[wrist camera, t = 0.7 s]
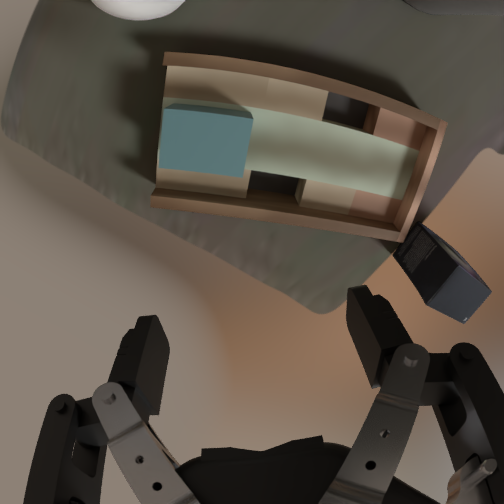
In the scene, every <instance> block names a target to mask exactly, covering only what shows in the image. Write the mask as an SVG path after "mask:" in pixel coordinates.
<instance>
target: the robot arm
mask: <svg viewBox="0 0 504 504" xmlns="http://www.w3.org/2000/svg"><path fill="white" fill-rule="evenodd" d="M346 321H347V327H348V330H349V332H350V335H351V337H352V340H353V342H354V344H355V347H356V349H357V352H358V354H359V357H360V360H361V362H362V364H363V367H364V369H365V372H366V375H367V377H368V380H369V383H370V385H371V388H372V389H373V388H377V387H381V389H380V391H379V393H378V394H377V396H376V398H375V400H374V403H373V405H372V407H371V409H370V411H369V413H368V416H367V418H366V420H365V422H364V424H363V427H362V428H361V431H360V432H359V435H358V436H357V439H356V440H355V442H354V444H353V446H352V448H349V447H347V446H344V445H340V444H336V443H329V442H323V437H322V435H321V436H316V437H310V438H305V439H299V440H292V441H290V442H287V443H285V444H282V445H279V446H276V447H274V448H271V449H268V450H265V451H252V450H245V449H238V448H232V447H227V448H208V449H207V448H205V449H202V453H201V456H200V457H196V458H194V459H191V460H189V461H187V462H186V463H184V464H182V465H181V466H180V465H179V463H178V462H177V461H176V460H175V458H174V457H173V456H172V455H171V453H170V452H169V451H168V449H167V448H166V447H165V445H164V444H163V443H162V441H161V440H160V438H159V437H158V435H157V434H156V432H155V431H154V429H153V428H152V427H151V425H150V424H149V422H148V421H149V416H150V415H159V411H160V404H161V399H162V393H163V387H164V381H165V376H166V370H167V365H168V359H169V353H170V347H169V342H168V339H167V337H166V335H165V332H164V330H163V328H162V325H161V323H160V321H159V318H158V317H157V316H156V315H150V316H140V317H139V318H138V319H137V322H136V325H135V328H134V329H129V331H128V332H127V333H126V334H125V336H124V337H123V338H122V341H121V344H120V349H119V350H118V352H117V356H116V358H115V361H114V364H113V367H112V370H111V373H110V376H109V379H108V382H107V383H105V384H103V385H101V386H99V387H98V388H97V389H96V390H95V392H94V394H93V396H92V397H90V398H86V399H82V400H79V401H75V400H74V398H73V397H72V396H70V395H68V394H61V395H58V396H56V397H55V398H54V399H53V400H52V401H51V402H50V404H49V406H48V409H47V412H46V415H45V418H44V421H43V425H42V428H41V431H40V435H39V438H38V442H37V446H36V449H35V453H34V457H33V460H32V465H31V469H30V473H29V477H28V482H27V487H26V492H25V498H24V503H23V504H100V495H101V486H102V478H103V470H104V463H105V456H106V450H107V445H108V446H109V449H110V451H111V453H112V455H113V457H114V459H115V460H116V462H117V464H118V466H119V468H120V470H121V471H122V473H123V475H124V477H125V478H126V480H127V482H128V483H129V485H130V487H131V488H132V490H133V492H134V493H135V495H136V497H137V498H138V499H139V501H140V503H141V504H440V503H438V502H437V501H435V500H434V499H432V498H430V497H428V496H426V495H425V494H423V493H421V492H420V491H418V490H416V489H414V488H413V487H411V486H409V485H408V484H406V483H404V482H403V481H401V480H400V479H398V478H396V477H395V476H394V473H395V471H396V469H397V466H398V464H399V462H400V459H401V457H402V454H403V452H404V449H405V447H406V444H407V441H408V439H409V436H410V433H411V430H412V427H413V425H414V422H415V418H416V416H417V412H418V409H419V406H430V405H432V407H433V410H434V412H435V415H436V418H437V421H438V423H439V426H440V428H441V431H442V434H443V437H444V440H445V443H446V446H447V448H448V451H449V454H450V457H451V461H452V464H453V467H454V470H455V473H454V474H453V475H452V477H451V478H450V480H449V482H448V487H447V490H448V499H447V502H446V504H504V393H503V391H502V389H501V388H500V386H499V384H498V382H497V380H496V378H495V377H494V375H493V373H492V371H491V370H490V368H489V366H488V364H487V362H486V361H485V359H484V358H483V356H482V354H481V353H480V351H479V349H478V348H476V347H475V346H474V345H472V344H470V343H458V344H456V345H454V346H453V347H452V349H451V351H450V353H428V351H427V350H426V349H425V348H424V347H422V346H420V345H418V344H414V343H413V341H412V340H411V338H410V336H409V334H408V333H407V331H406V329H405V328H404V326H403V324H402V323H401V321H400V319H399V318H398V316H397V314H396V313H395V311H394V309H393V308H392V306H391V305H390V303H389V301H388V300H386V299H385V298H383V297H382V296H381V295H374V296H373V295H372V293H371V292H370V290H369V288H368V287H367V285H361V286H356V287H351V288H348V292H347V310H346ZM74 443H75V445H74ZM73 447H74V450H73ZM72 452H73V455H72Z"/></svg>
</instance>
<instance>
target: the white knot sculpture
mask: <svg viewBox="0 0 504 504" xmlns="http://www.w3.org/2000/svg"><path fill="white" fill-rule="evenodd" d="M91 1H92V2H93V3H94V4H95V5H96V6H97V7H98V8H100V9H101V10H103V11H104V12H106V13H108V14H110V15H113V16H115V17H119V18H122V19H127V20H136V21H138V20H150V19H154V18H159V17H163V16H165V15H168V14H170V13H172V12H173V11H175V10H176V9H177V8H178V7H179V6H180V5H181V4H182V3H183V2H184V1H185V0H91Z"/></svg>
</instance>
